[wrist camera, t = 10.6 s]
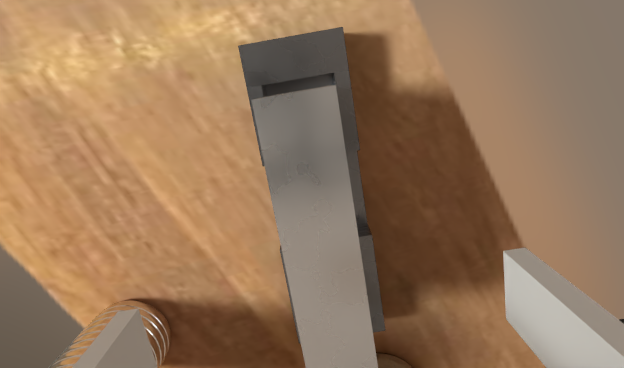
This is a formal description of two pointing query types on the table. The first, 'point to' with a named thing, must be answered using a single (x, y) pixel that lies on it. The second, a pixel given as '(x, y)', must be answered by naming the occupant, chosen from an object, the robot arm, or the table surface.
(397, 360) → the candle holder
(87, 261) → the table surface
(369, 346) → the grey notched block
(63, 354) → the water bottle
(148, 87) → the table surface
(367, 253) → the rail
